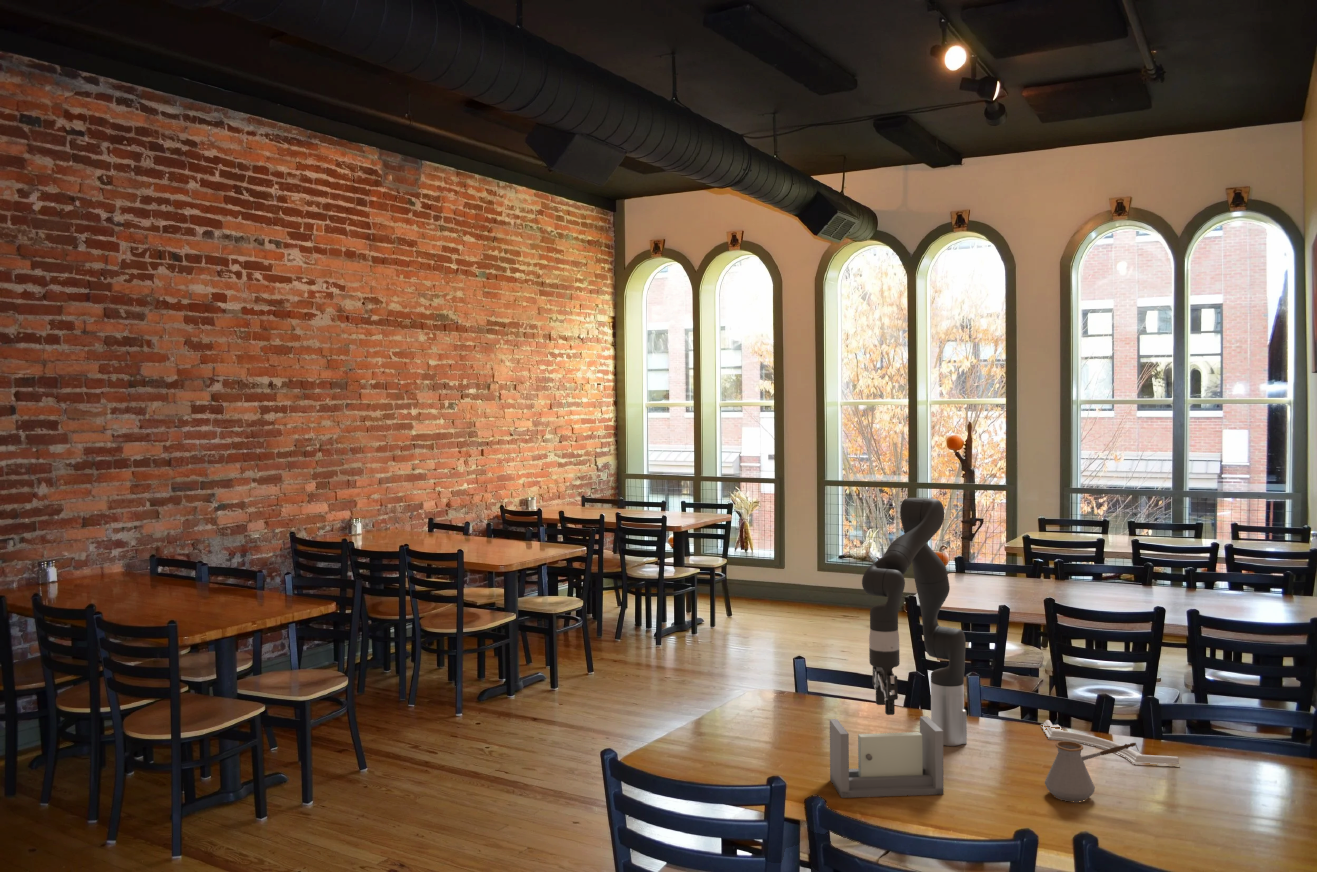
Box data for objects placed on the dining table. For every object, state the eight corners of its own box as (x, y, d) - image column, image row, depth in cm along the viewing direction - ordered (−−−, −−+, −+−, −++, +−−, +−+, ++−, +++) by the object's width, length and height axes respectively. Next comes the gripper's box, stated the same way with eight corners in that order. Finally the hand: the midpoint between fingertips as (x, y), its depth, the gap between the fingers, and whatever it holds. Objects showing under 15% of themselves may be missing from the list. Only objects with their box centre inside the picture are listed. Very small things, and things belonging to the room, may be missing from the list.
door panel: (919, 778, 251) (919, 731, 251) (923, 782, 248) (923, 736, 248) (858, 780, 250) (858, 733, 250) (862, 785, 247) (861, 738, 247)
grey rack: (927, 776, 256) (927, 716, 256) (943, 794, 244) (943, 730, 244) (830, 779, 255) (829, 719, 255) (841, 797, 243) (840, 733, 243)
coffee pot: (1045, 802, 239) (1045, 741, 238) (1043, 785, 249) (1043, 727, 249) (1142, 813, 231) (1141, 750, 231) (1136, 795, 242) (1135, 735, 242)
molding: (1187, 767, 263) (1187, 756, 263) (1163, 776, 256) (1163, 765, 256) (1048, 726, 298) (1048, 717, 298) (1023, 733, 292) (1023, 723, 292)
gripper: (907, 652, 242) (908, 717, 242) (890, 639, 256) (891, 700, 257) (877, 653, 242) (878, 718, 242) (862, 640, 256) (863, 701, 256)
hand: (885, 709), depth 249 cm, fingers open, 8 cm apart
